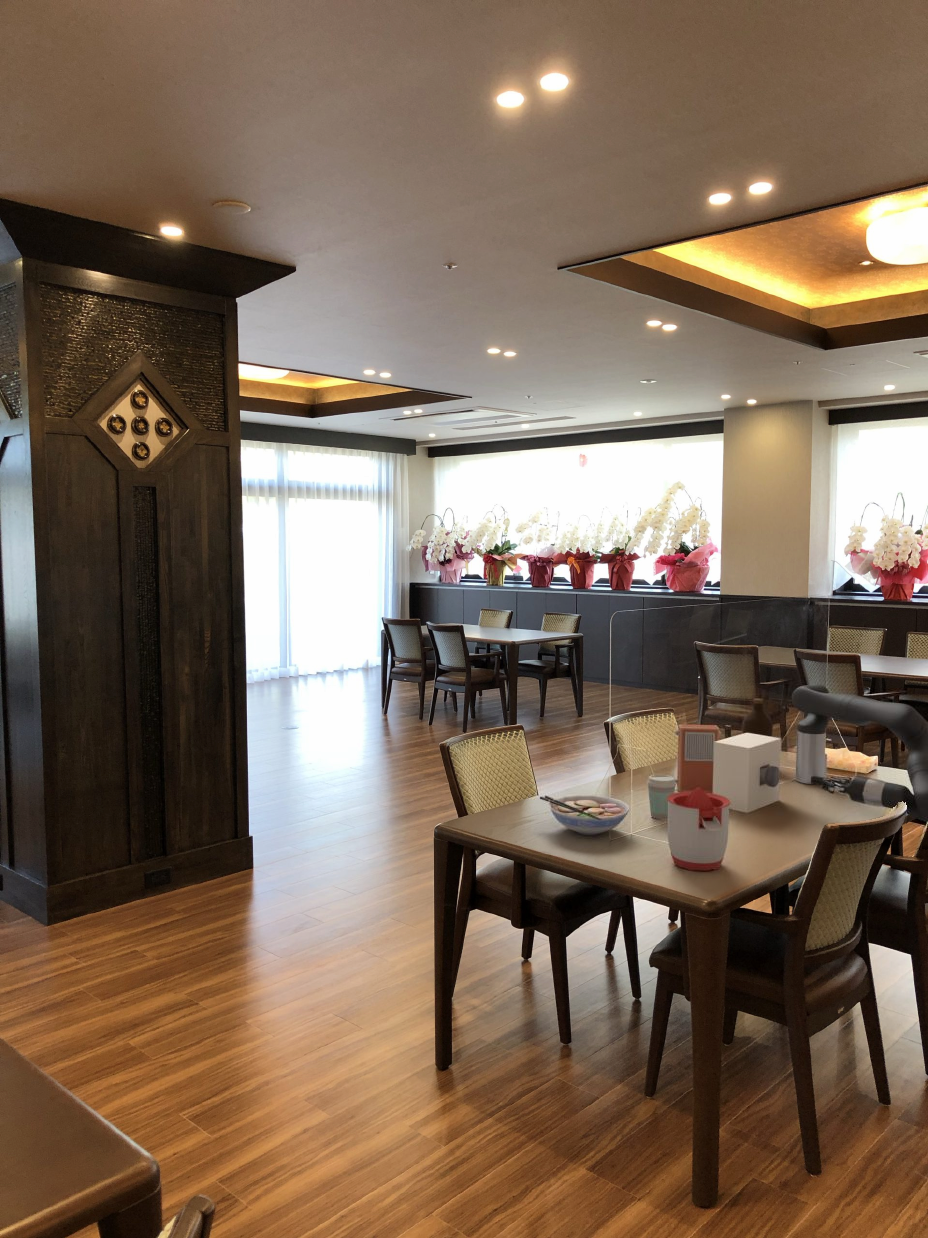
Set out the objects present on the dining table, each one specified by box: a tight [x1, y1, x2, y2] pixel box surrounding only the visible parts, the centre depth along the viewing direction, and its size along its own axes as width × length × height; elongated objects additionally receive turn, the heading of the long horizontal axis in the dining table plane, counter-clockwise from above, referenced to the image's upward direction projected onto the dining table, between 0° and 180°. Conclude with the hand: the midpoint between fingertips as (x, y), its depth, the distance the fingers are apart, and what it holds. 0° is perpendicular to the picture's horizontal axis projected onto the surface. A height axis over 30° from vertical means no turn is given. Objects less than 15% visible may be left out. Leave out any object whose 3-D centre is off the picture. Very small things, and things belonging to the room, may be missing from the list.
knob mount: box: [713, 733, 782, 814], centre depth 296 cm, size 20×12×20 cm, turn 134°
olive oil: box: [741, 698, 774, 737], centre depth 342 cm, size 11×11×25 cm
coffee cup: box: [646, 774, 677, 820], centre depth 280 cm, size 9×9×12 cm
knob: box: [760, 766, 781, 787], centre depth 292 cm, size 6×9×6 cm
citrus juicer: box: [667, 788, 730, 871], centre depth 239 cm, size 16×17×20 cm
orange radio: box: [674, 723, 722, 793], centre depth 310 cm, size 21×7×15 cm
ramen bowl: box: [539, 794, 631, 836], centre depth 267 cm, size 25×23×8 cm
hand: (812, 779), depth 280 cm, fingers closed
